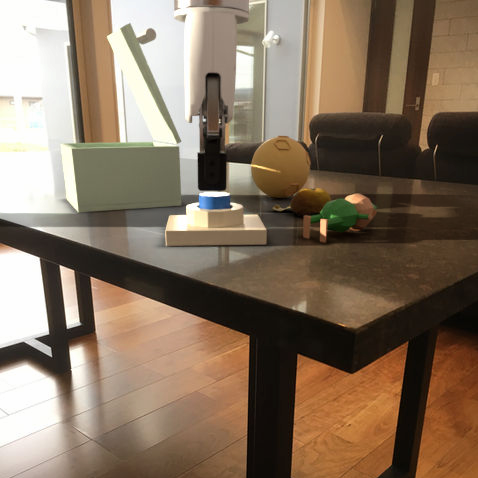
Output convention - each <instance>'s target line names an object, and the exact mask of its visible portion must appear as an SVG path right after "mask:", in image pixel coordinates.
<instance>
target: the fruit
mask: <svg viewBox="0 0 478 478" xmlns="http://www.w3.org/2000/svg"><path fill="white" fill-rule="evenodd" d="M329 201H332V198H331V195H330V193H329V192H328V191H327V190H326V189H324V188H322V187H321V188H320V187H317V188H311V187H305V188H301V189H300V190H299V191H298V192H297V193H295V194H294V195H293V198H292V199H291V200H290V203H289V206H287V207H284V208H283V207H281V205H280V204H275V206H273V207H272V208H271V209H272V210H274V211H277V212H283V211H286V210H288V209H291V211H292V213H293V214H295V215H296V216H297V217H299V218H304V216H305V215H306V216H313V215H317V214H320V212H321V210H322V209H323V207H324V205H325V204H326V203H327V202H329Z"/></svg>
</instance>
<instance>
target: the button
mask: <svg viewBox="0 0 478 478" xmlns="http://www.w3.org/2000/svg"><path fill="white" fill-rule="evenodd" d="M198 203H199V208H201V209H210V210H219V209H229V208H230V203H231V193H230V192H225V191H204V192H201V193H199V194H198Z"/></svg>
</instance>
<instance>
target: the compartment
mask: <svg viewBox="0 0 478 478" xmlns="http://www.w3.org/2000/svg"><path fill="white" fill-rule="evenodd" d="M60 153H61V161H62V170H63V177H64V186H65V195H66V200H67V201H68V202H69V203H70V205H71V206H72V207H73V208H74V209H75V210H76V212H77V213H90V212H91V213H93V212H105V211H107V212H108V211H120V210H133V209H135V210H136V209H151V208H163V207H165V208H166V207H178V206H180V207H181V206H182V184H181V183H182V181H181V180H182V179H181V158H180V157H181V156H180V155H181V154H180V146H179V145H177V144H172V143H166V142H161V141H125V142H124V141H123V142H118V141H117V142H70V143H69V142H68V143H65V142H64V143H63V142H62V143H61V142H60Z"/></svg>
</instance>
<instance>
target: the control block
mask: <svg viewBox="0 0 478 478" xmlns="http://www.w3.org/2000/svg"><path fill="white" fill-rule="evenodd" d="M244 208H245V207H244V206H243V204H241V203H236V202H230V208H229V209H219V210H210V209H201V208H199V202H194V203H191V204H187V205H186V207H185V209H186V210H185V213H186V214H169V216H168V220H167V223H166V227H165V231H164V233H165V246H166V247H186V246H187V247H189V246H190V247H193V246H195V247H197V246H199V247H200V246H201V247H202V246H259V245H261V246H263V245H264V246H266V245H267V239H268V238H267V234H268V233H267V232H268V231H267V228H266V226H265V225H264V223H263V221H262V220H261V218H260V216H259V214H257V213H256V214H244Z"/></svg>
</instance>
